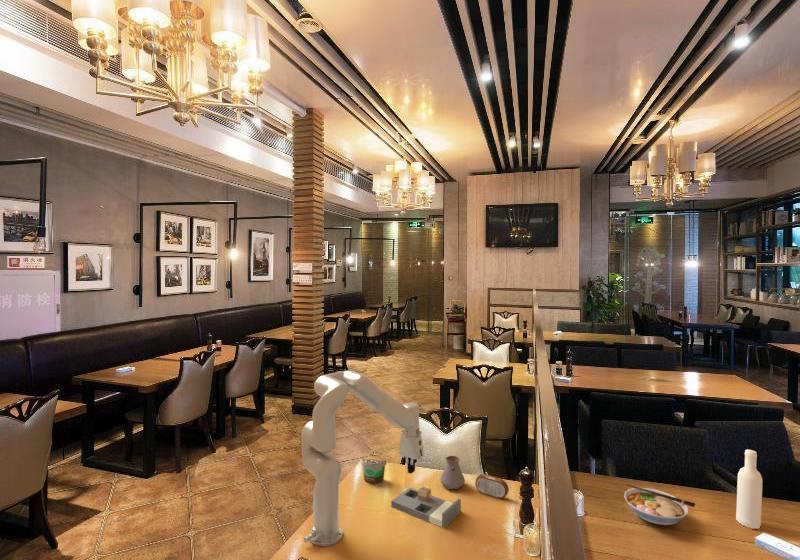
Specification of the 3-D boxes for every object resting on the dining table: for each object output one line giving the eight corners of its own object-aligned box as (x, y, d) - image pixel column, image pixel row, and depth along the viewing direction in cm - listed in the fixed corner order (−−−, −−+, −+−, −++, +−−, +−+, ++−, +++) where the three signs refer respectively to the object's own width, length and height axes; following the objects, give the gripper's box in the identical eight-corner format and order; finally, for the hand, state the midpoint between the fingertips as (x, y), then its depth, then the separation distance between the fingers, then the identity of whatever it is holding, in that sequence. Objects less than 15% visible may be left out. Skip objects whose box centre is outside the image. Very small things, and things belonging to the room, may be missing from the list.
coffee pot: (440, 478, 214) (440, 448, 213) (464, 480, 212) (464, 449, 212) (439, 502, 192) (439, 469, 192) (466, 504, 191) (466, 470, 191)
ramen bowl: (613, 518, 181) (613, 499, 181) (629, 497, 198) (630, 479, 197) (684, 545, 164) (685, 524, 164) (696, 519, 181) (696, 500, 180)
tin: (508, 498, 196) (509, 480, 196) (506, 501, 193) (506, 483, 193) (477, 489, 204) (477, 471, 204) (474, 492, 201) (474, 474, 201)
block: (425, 502, 188) (426, 492, 188) (418, 499, 191) (418, 489, 190) (430, 497, 191) (430, 488, 191) (423, 495, 194) (423, 486, 194)
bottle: (739, 527, 175) (742, 453, 174) (732, 517, 183) (735, 445, 181) (764, 532, 172) (767, 456, 171) (756, 521, 180) (759, 448, 179)
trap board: (444, 528, 174) (444, 514, 174) (391, 506, 189) (391, 494, 189) (460, 511, 185) (460, 498, 185) (409, 492, 200) (409, 480, 200)
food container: (358, 483, 208) (358, 463, 208) (361, 477, 214) (361, 457, 214) (383, 486, 206) (384, 465, 206) (386, 479, 212) (386, 459, 212)
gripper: (429, 432, 193) (430, 473, 194) (401, 425, 202) (402, 464, 203) (420, 438, 187) (420, 480, 188) (392, 430, 196) (392, 470, 197)
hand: (411, 471), depth 195 cm, fingers closed
